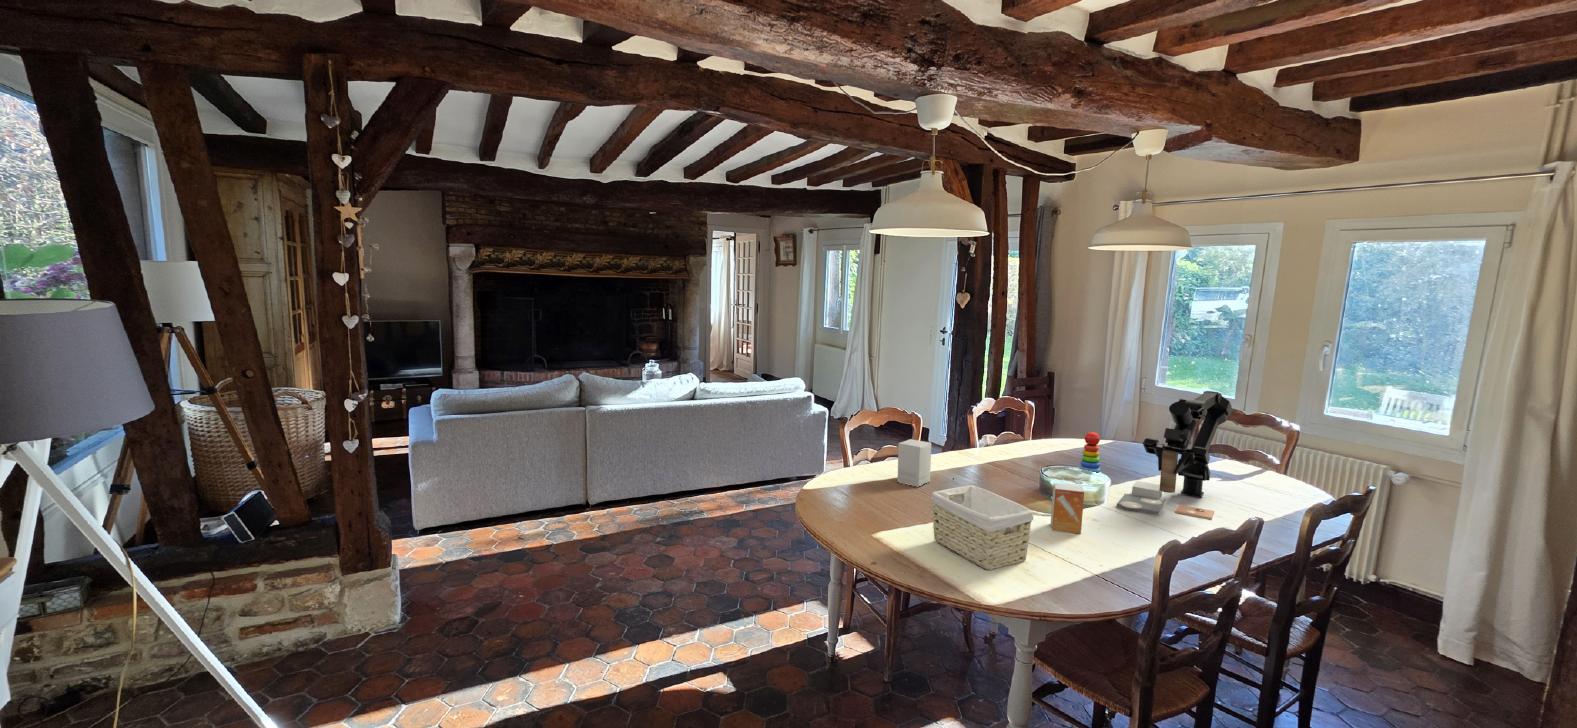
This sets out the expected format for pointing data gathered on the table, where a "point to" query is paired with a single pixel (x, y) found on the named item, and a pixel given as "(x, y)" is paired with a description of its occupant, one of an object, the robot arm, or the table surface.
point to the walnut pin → (1168, 471)
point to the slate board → (1140, 504)
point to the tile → (1195, 511)
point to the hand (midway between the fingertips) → (1167, 471)
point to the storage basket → (981, 526)
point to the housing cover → (1146, 490)
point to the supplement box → (914, 462)
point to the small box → (1067, 508)
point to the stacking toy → (1091, 453)
